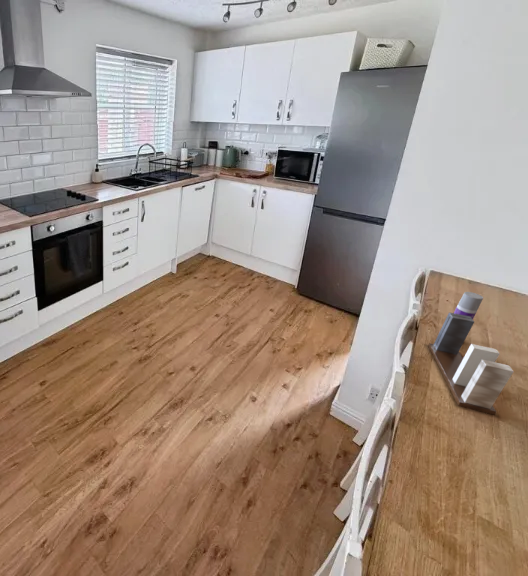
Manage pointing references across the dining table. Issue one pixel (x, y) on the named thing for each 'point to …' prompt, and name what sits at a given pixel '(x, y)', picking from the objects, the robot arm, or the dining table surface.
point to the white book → (473, 363)
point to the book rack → (486, 376)
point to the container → (469, 304)
